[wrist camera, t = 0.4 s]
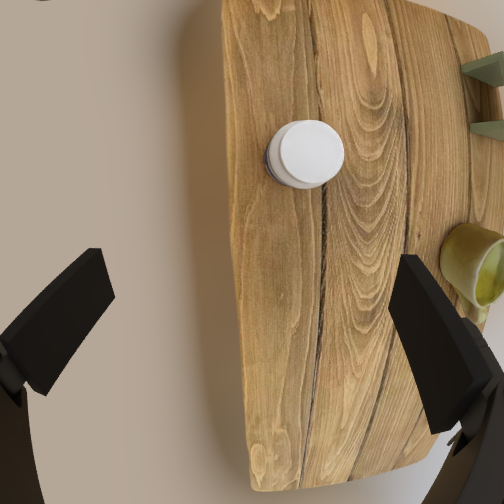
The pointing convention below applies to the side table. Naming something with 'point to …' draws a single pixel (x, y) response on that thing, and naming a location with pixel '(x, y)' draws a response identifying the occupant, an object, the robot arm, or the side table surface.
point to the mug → (474, 268)
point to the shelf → (495, 74)
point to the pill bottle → (304, 154)
